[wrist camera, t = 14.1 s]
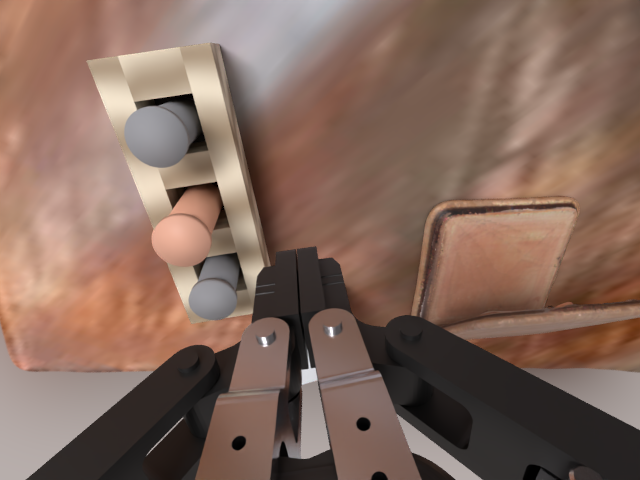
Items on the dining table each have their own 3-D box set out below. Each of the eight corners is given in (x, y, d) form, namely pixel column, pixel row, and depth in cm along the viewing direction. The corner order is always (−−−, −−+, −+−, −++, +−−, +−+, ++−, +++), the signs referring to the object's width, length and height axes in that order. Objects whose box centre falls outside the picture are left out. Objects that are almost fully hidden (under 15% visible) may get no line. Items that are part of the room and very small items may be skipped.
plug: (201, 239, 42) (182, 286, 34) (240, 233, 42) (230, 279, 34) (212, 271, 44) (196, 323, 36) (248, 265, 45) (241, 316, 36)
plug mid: (175, 182, 36) (143, 222, 28) (219, 175, 37) (201, 213, 28) (188, 222, 39) (162, 270, 30) (230, 215, 39) (216, 262, 30)
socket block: (112, 59, 33) (86, 60, 28) (219, 44, 33) (209, 42, 29) (199, 298, 46) (191, 323, 42) (275, 285, 46) (274, 309, 42)
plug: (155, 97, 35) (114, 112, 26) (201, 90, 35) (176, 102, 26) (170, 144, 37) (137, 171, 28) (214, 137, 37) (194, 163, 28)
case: (405, 329, 53) (452, 430, 39) (425, 198, 43) (499, 270, 29) (532, 320, 55) (621, 412, 41) (580, 193, 45) (718, 257, 31)
